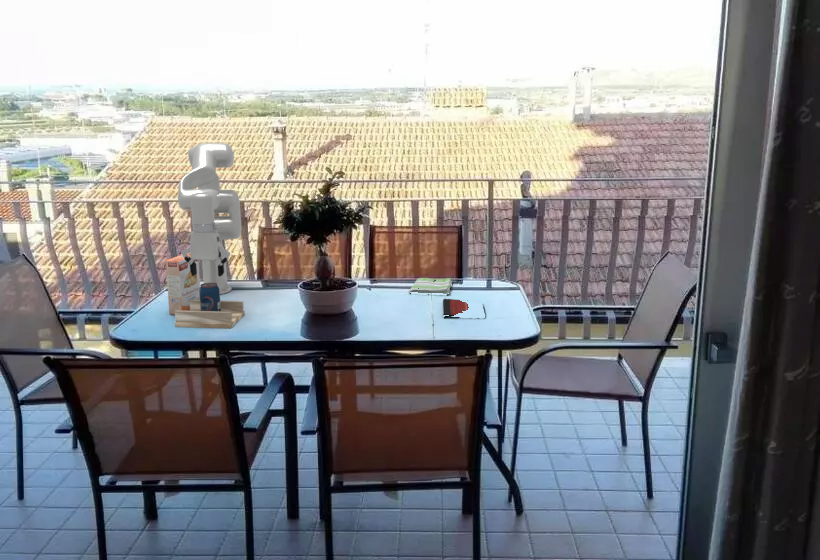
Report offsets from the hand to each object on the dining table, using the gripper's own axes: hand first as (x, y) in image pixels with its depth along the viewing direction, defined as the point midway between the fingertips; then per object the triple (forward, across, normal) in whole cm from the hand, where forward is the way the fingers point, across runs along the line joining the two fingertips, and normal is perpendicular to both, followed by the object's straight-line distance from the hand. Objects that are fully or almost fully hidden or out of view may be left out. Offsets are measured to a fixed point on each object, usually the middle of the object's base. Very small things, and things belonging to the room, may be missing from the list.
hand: (207, 275), depth 232 cm
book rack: (+17, 0, +1) cm, 17 cm away
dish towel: (+18, -79, -50) cm, 95 cm away
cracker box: (+18, +14, -11) cm, 25 cm away
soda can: (+16, 0, +1) cm, 16 cm away
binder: (+18, -92, -19) cm, 96 cm away
